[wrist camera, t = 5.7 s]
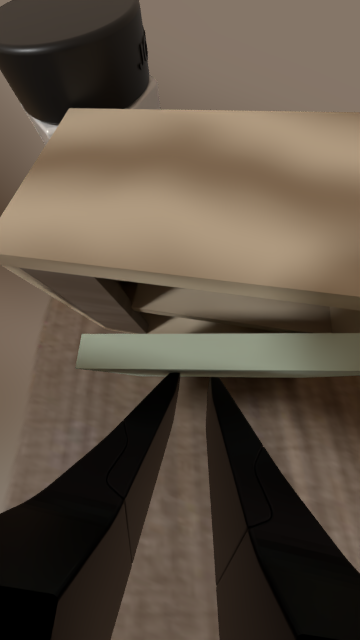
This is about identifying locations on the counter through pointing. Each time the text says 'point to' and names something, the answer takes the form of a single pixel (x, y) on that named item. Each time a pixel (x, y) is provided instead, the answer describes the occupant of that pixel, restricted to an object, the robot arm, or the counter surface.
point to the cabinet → (195, 220)
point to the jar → (75, 58)
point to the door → (223, 354)
